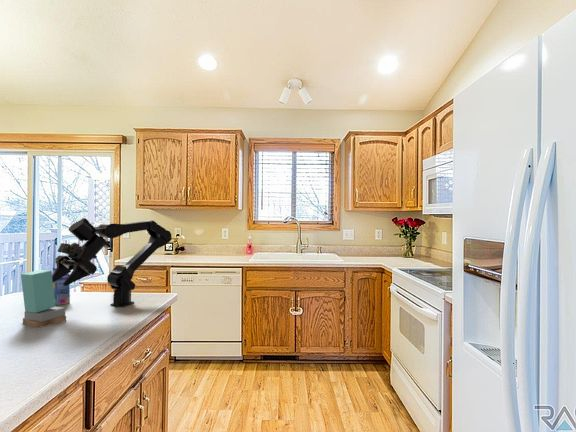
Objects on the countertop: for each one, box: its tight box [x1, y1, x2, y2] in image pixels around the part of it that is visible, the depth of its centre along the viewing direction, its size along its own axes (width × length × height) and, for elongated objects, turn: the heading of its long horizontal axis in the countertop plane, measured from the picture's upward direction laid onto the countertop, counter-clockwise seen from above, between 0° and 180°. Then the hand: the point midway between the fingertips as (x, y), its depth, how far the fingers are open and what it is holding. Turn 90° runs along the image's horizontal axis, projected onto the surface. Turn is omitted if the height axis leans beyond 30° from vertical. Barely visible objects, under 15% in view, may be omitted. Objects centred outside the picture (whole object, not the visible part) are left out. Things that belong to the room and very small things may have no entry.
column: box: [20, 269, 56, 313], centre depth 112 cm, size 6×6×12 cm
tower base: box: [22, 314, 67, 329], centre depth 113 cm, size 9×9×2 cm
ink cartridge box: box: [52, 267, 71, 306], centre depth 138 cm, size 10×6×14 cm, turn 54°
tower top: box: [23, 306, 66, 322], centre depth 113 cm, size 8×8×2 cm
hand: (57, 283), depth 116 cm, fingers open, 9 cm apart
